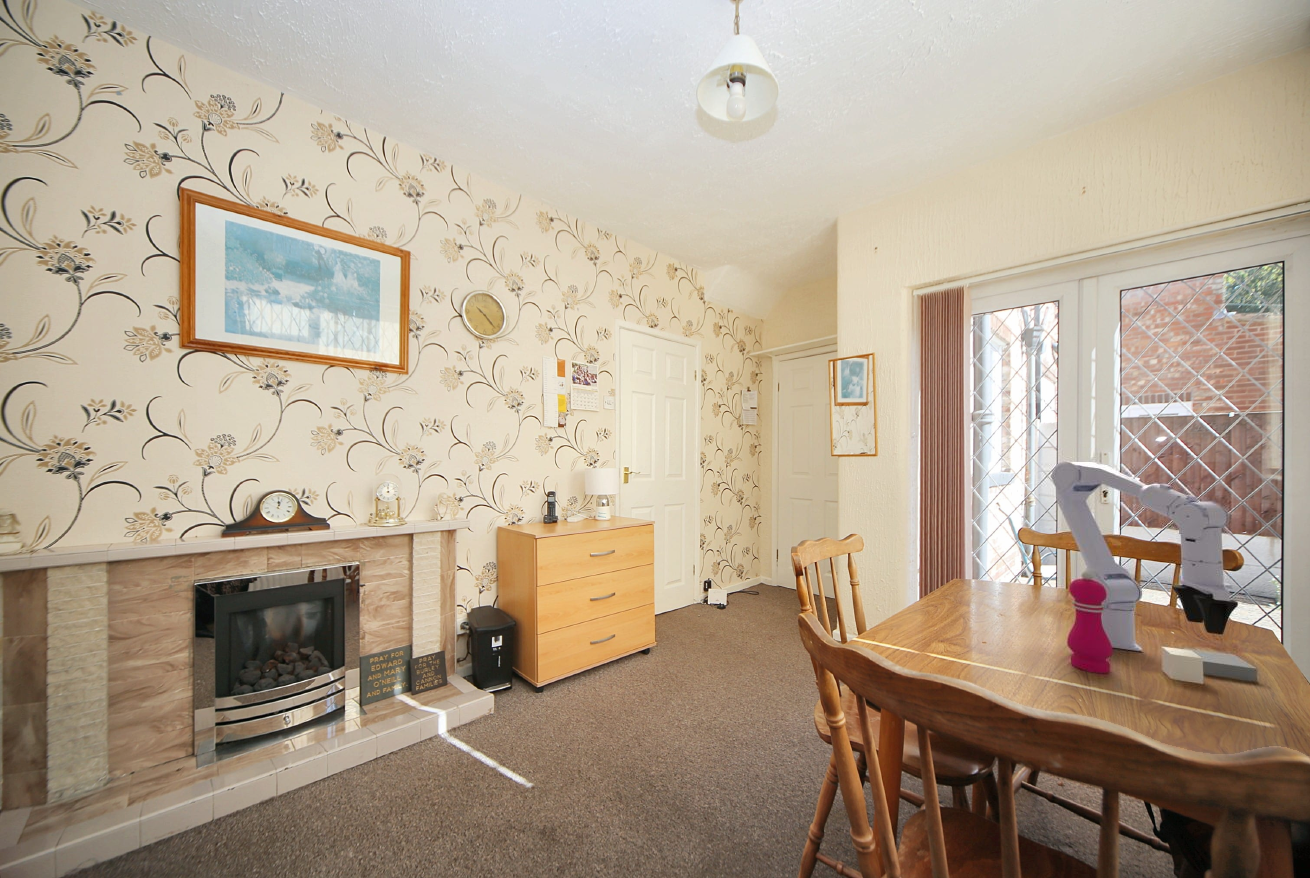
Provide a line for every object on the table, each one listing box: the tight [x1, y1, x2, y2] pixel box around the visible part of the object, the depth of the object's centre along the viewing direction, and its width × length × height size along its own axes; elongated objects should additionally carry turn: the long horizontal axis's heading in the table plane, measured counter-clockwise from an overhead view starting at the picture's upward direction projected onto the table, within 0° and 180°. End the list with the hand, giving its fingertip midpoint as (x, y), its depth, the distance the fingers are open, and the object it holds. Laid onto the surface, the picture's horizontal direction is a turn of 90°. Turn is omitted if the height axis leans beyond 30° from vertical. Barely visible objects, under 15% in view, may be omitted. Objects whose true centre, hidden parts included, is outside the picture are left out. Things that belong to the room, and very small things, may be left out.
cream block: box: [1161, 646, 1204, 685], centre depth 99 cm, size 4×4×5 cm
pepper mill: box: [1066, 571, 1114, 674], centre depth 104 cm, size 7×7×20 cm
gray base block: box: [1181, 647, 1258, 683], centre depth 103 cm, size 8×8×3 cm
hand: (1204, 627), depth 101 cm, fingers open, 7 cm apart
